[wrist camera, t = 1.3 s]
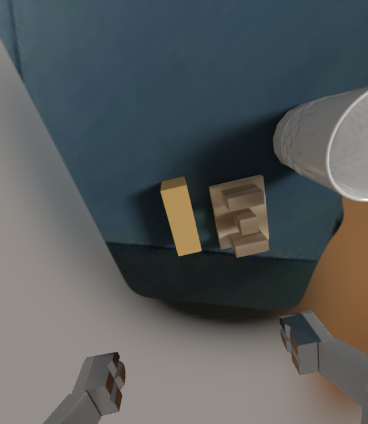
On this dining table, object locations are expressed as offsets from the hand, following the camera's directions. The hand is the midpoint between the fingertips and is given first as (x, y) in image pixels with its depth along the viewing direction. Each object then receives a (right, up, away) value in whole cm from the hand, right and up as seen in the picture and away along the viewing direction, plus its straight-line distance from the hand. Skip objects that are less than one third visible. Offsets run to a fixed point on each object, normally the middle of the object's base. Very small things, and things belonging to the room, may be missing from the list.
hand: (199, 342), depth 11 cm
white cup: (+12, +15, +13) cm, 23 cm away
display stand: (+6, +6, +16) cm, 18 cm away
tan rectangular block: (-1, +7, +16) cm, 17 cm away
